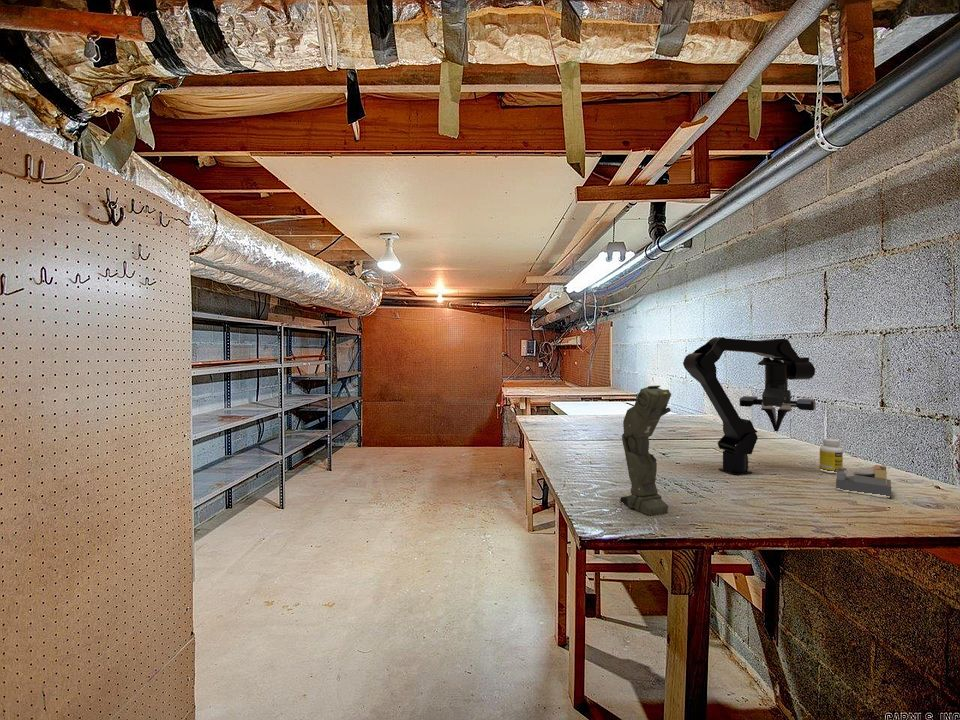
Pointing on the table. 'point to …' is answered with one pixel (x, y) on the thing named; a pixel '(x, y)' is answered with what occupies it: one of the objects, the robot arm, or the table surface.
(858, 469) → the beige flat panel
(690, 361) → the robot arm
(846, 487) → the grey tray
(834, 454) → the supplement bottle
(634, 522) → the table surface
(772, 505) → the table surface
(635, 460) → the mechanical leg
